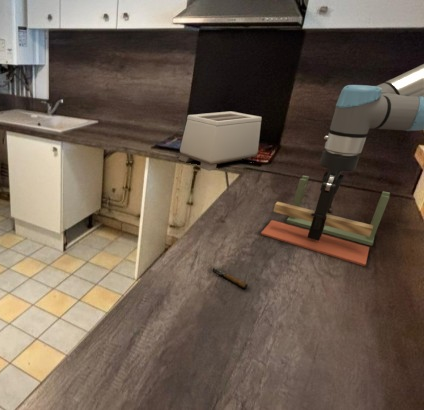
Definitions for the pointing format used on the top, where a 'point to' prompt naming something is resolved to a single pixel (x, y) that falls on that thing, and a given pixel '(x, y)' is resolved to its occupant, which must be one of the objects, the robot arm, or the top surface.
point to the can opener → (231, 278)
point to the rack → (335, 231)
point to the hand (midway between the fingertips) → (314, 236)
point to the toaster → (220, 138)
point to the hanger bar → (330, 219)
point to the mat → (317, 242)
